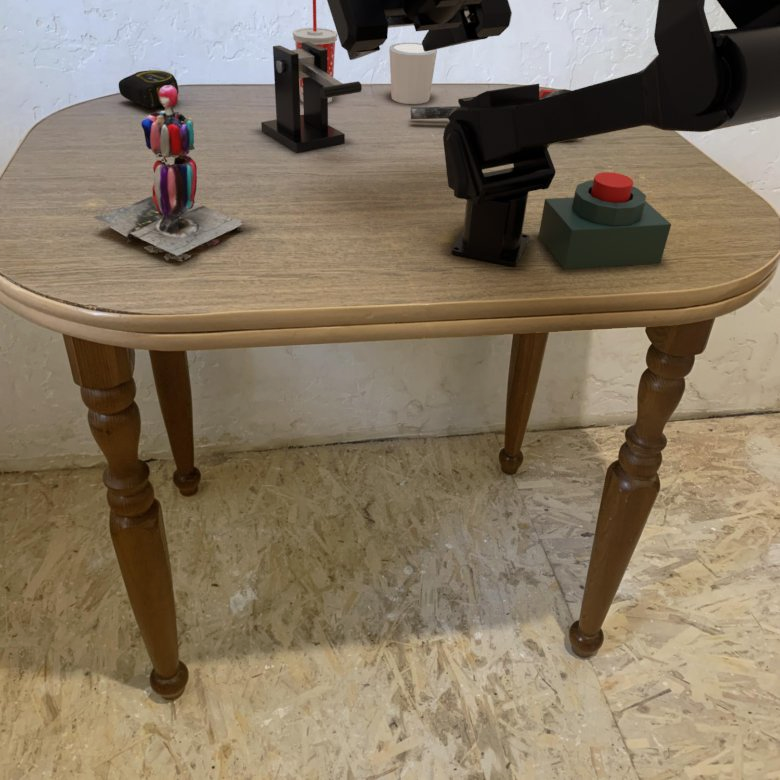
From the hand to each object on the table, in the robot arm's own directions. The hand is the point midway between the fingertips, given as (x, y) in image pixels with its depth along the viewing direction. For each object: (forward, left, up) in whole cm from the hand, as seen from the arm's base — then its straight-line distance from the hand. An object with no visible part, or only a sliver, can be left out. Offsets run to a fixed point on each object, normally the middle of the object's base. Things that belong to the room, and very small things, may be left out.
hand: (387, 51), depth 82 cm
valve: (+25, -8, -14) cm, 29 cm away
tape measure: (+9, +38, -14) cm, 41 cm away
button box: (-9, -26, -13) cm, 31 cm away
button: (-9, -26, -8) cm, 29 cm away
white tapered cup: (+29, +7, -14) cm, 32 cm away
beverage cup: (+22, +19, -14) cm, 32 cm away
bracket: (+7, +14, -13) cm, 20 cm away
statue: (-23, +14, -14) cm, 30 cm away
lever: (+4, +10, -6) cm, 13 cm away
